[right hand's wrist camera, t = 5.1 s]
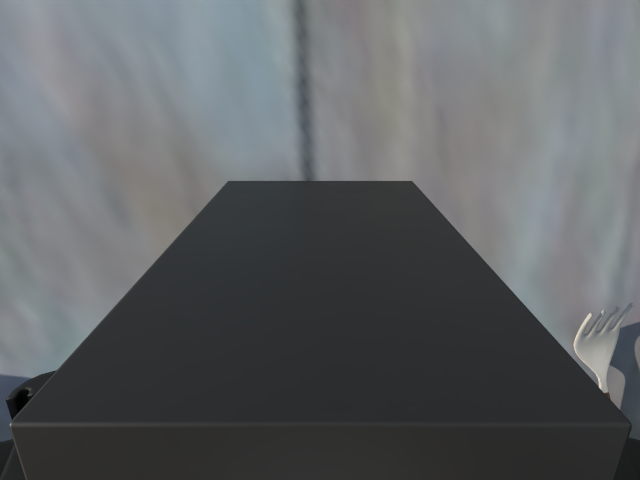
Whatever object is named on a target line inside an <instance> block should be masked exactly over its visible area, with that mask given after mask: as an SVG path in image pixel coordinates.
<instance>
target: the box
mask: <svg viewBox="0 0 640 480" xmlns="http://www.w3.org/2000/svg"><path fill="white" fill-rule="evenodd" d="M9 428H10V431H11V434H12V437H13V440H14V444H15V447H16V450H17V453H18V456H19V459H20V462H21V466H22V469H23V472H24V475H25V478H26V480H615V478H616V475H617V471H618V468H619V465H620V462H621V459H622V456H623V453H624V449H625V446H626V443H627V440H628V437H629V434H630V431H631V428H632V426H631V422H630V421H629V420H628V419H627V418H626V417H625V415H624V414H623V413H622V412H621V411H620V410H619V409H618V408H617V407H616V406H615V404H614V403H613V402H612V401H611V400H610V399H609V398H608V397H607V396H606V395H605V393H604V392H603V391H602V390H601V389H600V388H599V387H598V386H597V385H596V383H595V382H594V381H593V380H592V379H591V378H590V377H589V376H588V375H587V374H586V372H585V371H584V370H583V369H582V368H581V367H580V366H579V365H578V364H577V363H576V361H575V360H574V359H573V358H572V357H571V356H570V355H569V354H568V353H567V351H566V350H565V349H564V348H563V347H562V346H561V345H560V344H559V343H558V342H557V340H556V339H555V338H554V337H553V336H552V335H551V334H550V333H549V332H548V331H547V329H546V328H545V327H544V326H543V325H542V324H541V323H540V322H539V321H538V320H537V318H536V317H535V316H534V315H533V314H532V313H531V312H530V311H529V310H528V308H527V307H526V306H525V305H524V304H523V303H522V302H521V301H520V300H519V299H518V297H517V296H516V295H515V294H514V293H513V292H512V291H511V290H510V289H509V288H508V286H507V285H506V284H505V283H504V282H503V281H502V280H501V279H500V278H499V276H498V275H497V274H496V273H495V272H494V271H493V270H492V269H491V268H490V267H489V265H488V264H487V263H486V262H485V261H484V260H483V259H482V258H481V257H480V256H479V254H478V253H477V252H476V251H475V250H474V249H473V248H472V247H471V246H470V244H469V243H468V242H467V241H466V240H465V239H464V238H463V237H462V236H461V235H460V233H459V232H458V231H457V230H456V229H455V228H454V227H453V226H452V225H451V224H450V222H449V221H448V220H447V219H446V218H445V217H444V216H443V215H442V214H441V213H440V211H439V210H438V209H437V208H436V207H435V206H434V205H433V204H432V203H431V201H430V200H429V199H428V198H427V197H426V196H425V195H424V194H423V193H422V192H421V190H420V189H419V188H418V187H417V186H416V185H415V184H414V183H413V182H412V181H228V182H227V183H226V184H225V185H224V186H223V187H222V189H221V190H220V191H219V192H218V193H217V194H216V195H215V196H214V197H213V198H212V200H211V201H210V202H209V203H208V204H207V205H206V206H205V207H204V208H203V210H202V211H201V212H200V213H199V214H198V215H197V216H196V217H195V218H194V220H193V221H192V222H191V223H190V224H189V225H188V226H187V227H186V228H185V229H184V231H183V232H182V233H181V234H180V235H179V236H178V237H177V238H176V239H175V241H174V242H173V243H172V244H171V245H170V246H169V247H168V248H167V249H166V250H165V252H164V253H163V254H162V255H161V256H160V257H159V258H158V259H157V260H156V262H155V263H154V264H153V265H152V266H151V267H150V268H149V269H148V270H147V271H146V273H145V274H144V275H143V276H142V277H141V278H140V279H139V280H138V281H137V283H136V284H135V285H134V286H133V287H132V288H131V289H130V290H129V291H128V293H127V294H126V295H125V296H124V297H123V298H122V299H121V300H120V301H119V302H118V304H117V305H116V306H115V307H114V308H113V309H112V310H111V311H110V312H109V314H108V315H107V316H106V317H105V318H104V319H103V320H102V321H101V322H100V323H99V325H98V326H97V327H96V328H95V329H94V330H93V331H92V332H91V333H90V335H89V336H88V337H87V338H86V339H85V340H84V341H83V342H82V343H81V344H80V346H79V347H78V348H77V349H76V350H75V351H74V352H73V353H72V354H71V356H70V357H69V358H68V359H67V360H66V361H65V362H64V363H63V364H62V366H61V367H60V368H59V369H58V370H57V371H56V372H55V373H54V374H53V375H52V377H51V378H50V379H49V380H48V381H47V382H46V383H45V384H44V385H43V387H42V388H41V389H40V390H39V391H38V392H37V393H36V394H35V395H34V396H33V398H32V399H31V400H30V401H29V402H28V403H27V404H26V405H25V406H24V408H23V409H22V410H21V411H20V412H19V413H18V414H17V415H16V416H15V417H14V419H13V420H12V421H11V422H10V425H9Z"/></svg>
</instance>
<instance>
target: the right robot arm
mask: <svg viewBox="0 0 640 480" xmlns="http://www.w3.org/2000/svg"><path fill="white" fill-rule="evenodd" d="M56 371H57V370H56ZM56 371H52V372H49V373H45V374H41V375H39V376H37V377H35V378H32V379H30V380H28V381H26V382H25V383H23V384H22V385H20V386H19V387H18V388H16V389H15V390H14V391H13V392H12V393H11V394H10V396H9V397H8V398H7V399H6V402H7V405H8V409H9V412H10V415H11V418H12V420H13V419H14V417H15V416H16V415H17V414H18V413H19V412H20V411H21V410H22V409H23V408H24V406H25V405H26V404H27V403H28V402H29V401H30V400H31V399H32V398H33V396H34V395H35V394H36V393H37V392H38V391H39V390H40V389H41V388H42V387H43V385H44V384H45V383H46V382H47V381H48V380H49V379H50V378H51V377H52V375H53V374H54V373H55V372H56ZM0 480H26V478H25V475H24V472H23V469H22V466H21V462H20V459H19V456H18V453H17V450H16V447H15V444H14V440H13V439H11V440H8V441H4V442H0ZM615 480H640V440H636V439H632V438H628V440H627V443H626V446H625V449H624V453H623V456H622V459H621V462H620V465H619V468H618V471H617V475H616V478H615Z"/></svg>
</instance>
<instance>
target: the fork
mask: <svg viewBox="0 0 640 480" xmlns="http://www.w3.org/2000/svg"><path fill="white" fill-rule="evenodd" d="M632 307H633V303H630V304H629V305H628V306H627V307H626V309H625V310H624V311H623V313H622V314H621V315H620V317H619V318H618V320H617V321H616V323H615V324H614V326H613V327H612V328H609V326H610V324H611V322H612V320H613V318H614V316H615V314H616V313H617V311H618V310H619V307H618V306H617V307H616V308H615V309H614V310H613V312H612V313H611V314H610V316H609V317H608V318H607V320H606V322H605V323H604V325H603V327H602V328H601V329H600V330H599V331H596V330H597V327H598V325H599V323H600V321H601V319H602V317H603V316H604V314H605V313H606V312H605V310H603V311H602V312H601V313H600V315H599V316H598V317H597V319H596V320H595V322H594V323H593V325H592V327H591V329H590V330H589V332H588V333H587V334H584V332H585V329H586V326H587V324H588V322H589V320H590V318H591V317H592V313H589V315H588V316H587V318H586V319H585V321H584V322H583V324H582V325H581V327H580V329H579V331H578V333H577V335H576V338H575V341H574V350H575V352H576V354H577V355H578V357H579V358H580V359H581V360H582V361H583V362H584V363H585V364H586V365H587V366H588V367H589V368H590V369H591V370H592V371H593V372H594V373H595V374H596V375H597V377H598V380H599V388H600V389H601V390H602V391H603V392H604V393H605V395H606V396H607V397H608V398H609V399H610V396H609V392H608V387H607V372H608V368H609V365H610V362H611V359H612V356H613V353H614V350H615V347H616V344H617V341H618V337H619V332H620V327H621V324H622V322H623V320H624V318H625V317H626V315H627V313H628V312H629V310H630V309H631V308H632Z"/></svg>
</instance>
